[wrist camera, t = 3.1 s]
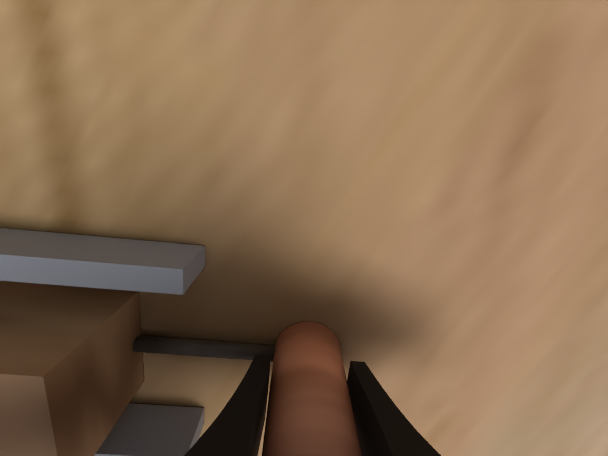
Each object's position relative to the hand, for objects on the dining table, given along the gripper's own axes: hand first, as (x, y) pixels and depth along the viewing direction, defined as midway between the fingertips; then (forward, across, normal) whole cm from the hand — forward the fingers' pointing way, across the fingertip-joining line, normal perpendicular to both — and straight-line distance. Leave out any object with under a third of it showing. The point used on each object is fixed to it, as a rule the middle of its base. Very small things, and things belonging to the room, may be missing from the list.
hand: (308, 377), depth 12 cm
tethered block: (+2, +6, 0) cm, 6 cm away
